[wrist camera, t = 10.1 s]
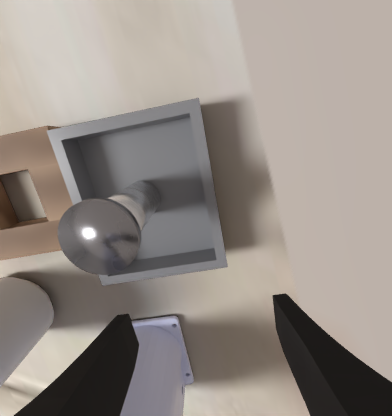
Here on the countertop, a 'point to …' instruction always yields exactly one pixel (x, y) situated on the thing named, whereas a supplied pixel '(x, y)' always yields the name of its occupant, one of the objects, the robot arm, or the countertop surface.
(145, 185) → the pin
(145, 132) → the tray
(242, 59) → the countertop surface
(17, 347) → the can
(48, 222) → the hitch block
